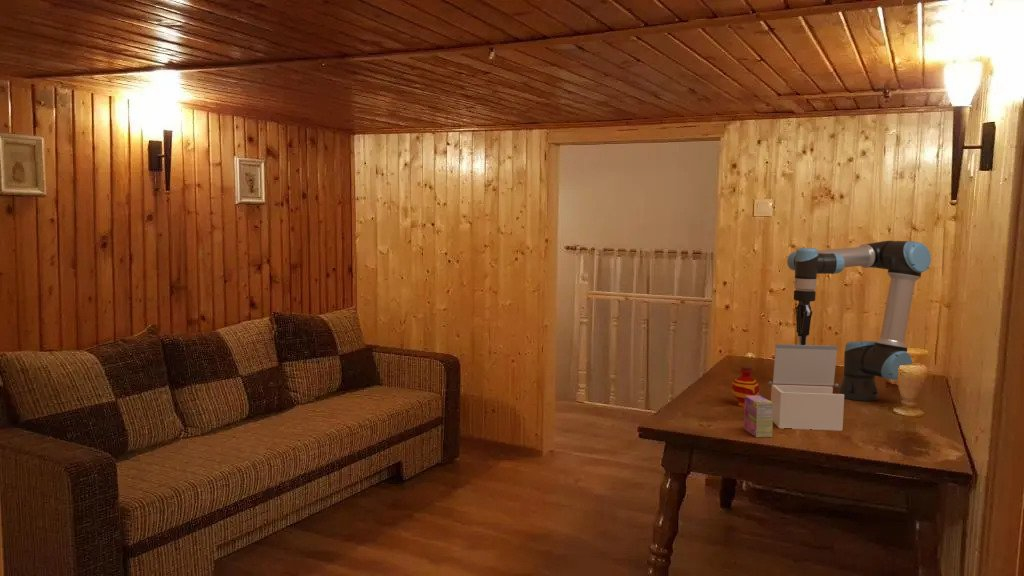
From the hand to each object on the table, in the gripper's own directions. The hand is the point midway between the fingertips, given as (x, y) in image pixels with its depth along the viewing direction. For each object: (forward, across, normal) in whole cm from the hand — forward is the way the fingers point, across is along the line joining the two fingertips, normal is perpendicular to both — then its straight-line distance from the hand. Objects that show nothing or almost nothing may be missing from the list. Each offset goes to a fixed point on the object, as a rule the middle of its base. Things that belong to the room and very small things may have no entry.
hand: (801, 353), depth 283 cm
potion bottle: (+23, -9, -18) cm, 30 cm away
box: (+23, +31, -22) cm, 44 cm away
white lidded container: (+22, +17, -2) cm, 28 cm away
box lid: (+2, +12, -2) cm, 12 cm away
